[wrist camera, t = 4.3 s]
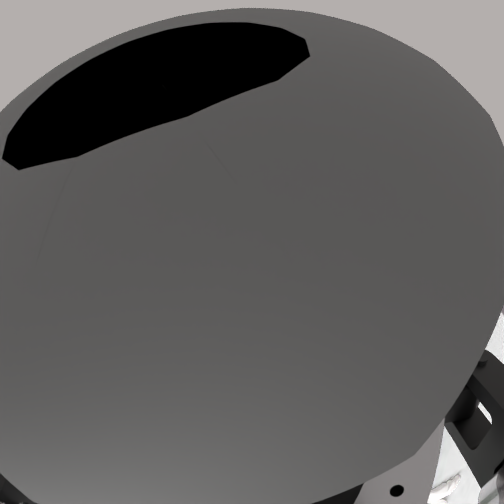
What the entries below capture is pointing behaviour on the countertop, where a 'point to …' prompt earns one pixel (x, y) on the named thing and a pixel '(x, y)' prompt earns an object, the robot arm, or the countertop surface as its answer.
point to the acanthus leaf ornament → (443, 491)
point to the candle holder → (240, 261)
